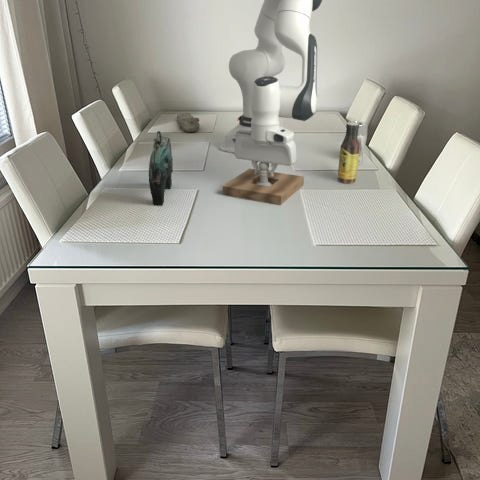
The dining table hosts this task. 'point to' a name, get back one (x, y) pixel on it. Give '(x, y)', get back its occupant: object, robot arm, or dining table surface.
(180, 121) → the long grey stone
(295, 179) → the walnut board
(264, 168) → the chess piece
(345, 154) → the sauce bottle
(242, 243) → the dining table surface
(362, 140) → the beer glass
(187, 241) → the dining table surface
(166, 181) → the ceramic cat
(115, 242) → the dining table surface
